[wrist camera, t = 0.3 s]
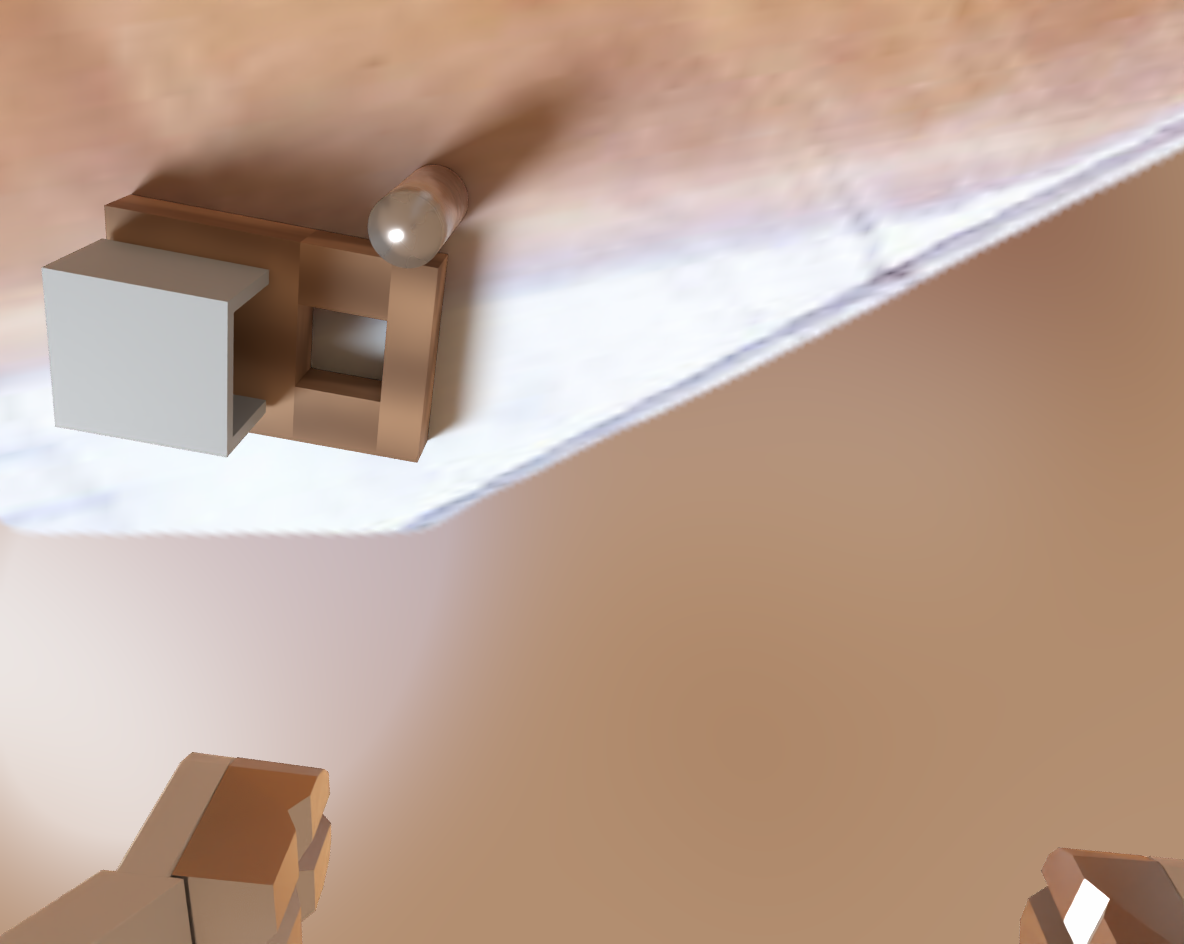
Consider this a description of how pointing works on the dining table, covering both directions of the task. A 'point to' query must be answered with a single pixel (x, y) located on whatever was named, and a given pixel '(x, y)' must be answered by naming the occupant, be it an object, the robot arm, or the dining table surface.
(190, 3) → the dining table surface
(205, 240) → the socket block
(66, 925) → the robot arm
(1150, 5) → the dining table surface
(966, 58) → the dining table surface
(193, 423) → the housing cap
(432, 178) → the stub peg
